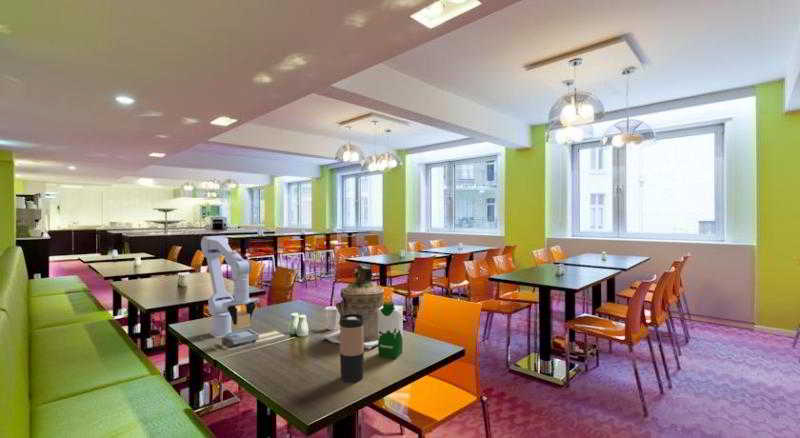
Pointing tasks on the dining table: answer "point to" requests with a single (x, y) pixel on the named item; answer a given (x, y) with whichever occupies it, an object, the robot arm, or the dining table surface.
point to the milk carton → (390, 330)
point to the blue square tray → (242, 336)
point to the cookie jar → (361, 305)
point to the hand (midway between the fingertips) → (241, 322)
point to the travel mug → (351, 347)
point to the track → (262, 338)
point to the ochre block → (242, 320)
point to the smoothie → (332, 316)
